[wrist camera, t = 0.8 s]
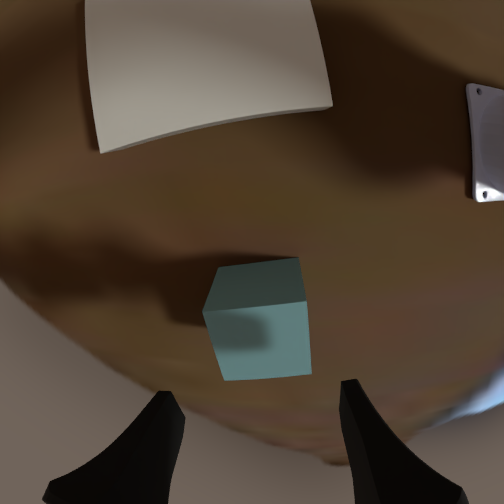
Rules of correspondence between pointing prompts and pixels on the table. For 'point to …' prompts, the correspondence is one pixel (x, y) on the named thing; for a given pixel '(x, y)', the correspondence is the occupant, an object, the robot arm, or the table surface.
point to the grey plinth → (199, 65)
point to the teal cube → (259, 320)
